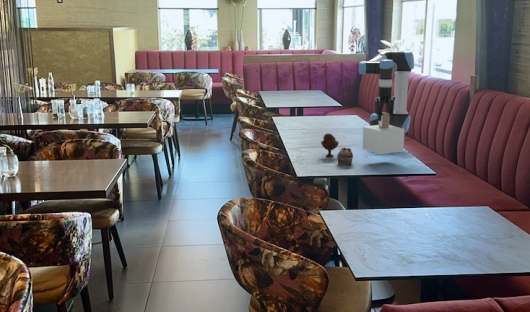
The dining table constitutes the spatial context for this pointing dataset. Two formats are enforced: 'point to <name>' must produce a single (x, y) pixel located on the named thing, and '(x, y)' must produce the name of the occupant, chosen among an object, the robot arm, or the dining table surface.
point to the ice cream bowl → (329, 144)
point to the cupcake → (345, 157)
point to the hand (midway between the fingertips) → (383, 125)
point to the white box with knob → (383, 137)
